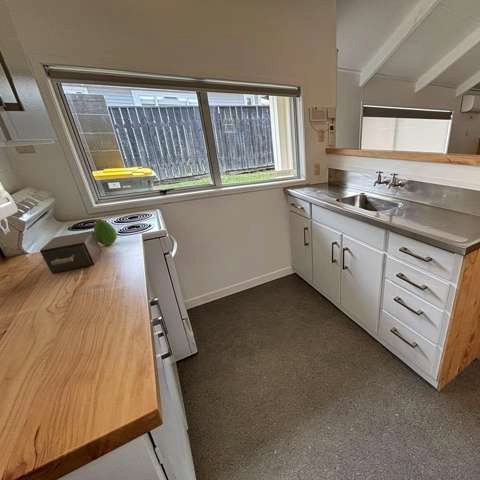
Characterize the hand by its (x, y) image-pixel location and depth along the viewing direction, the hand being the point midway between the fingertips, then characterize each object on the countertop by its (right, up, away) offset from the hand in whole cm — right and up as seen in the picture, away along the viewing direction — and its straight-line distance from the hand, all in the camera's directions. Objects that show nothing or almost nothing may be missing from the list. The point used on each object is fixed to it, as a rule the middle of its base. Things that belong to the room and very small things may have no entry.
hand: (4, 234), depth 79 cm
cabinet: (+1, -10, +24) cm, 26 cm away
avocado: (0, -4, +40) cm, 40 cm away
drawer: (+3, -11, +20) cm, 23 cm away
